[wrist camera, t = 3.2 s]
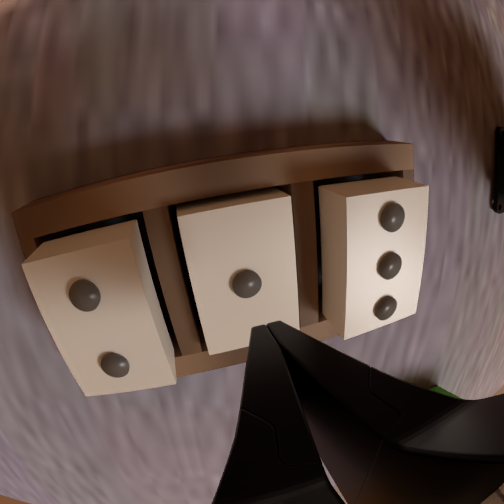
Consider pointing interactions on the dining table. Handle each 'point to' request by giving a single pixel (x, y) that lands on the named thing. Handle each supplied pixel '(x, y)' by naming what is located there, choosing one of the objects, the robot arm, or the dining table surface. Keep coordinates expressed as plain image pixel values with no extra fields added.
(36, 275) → the tile two dots
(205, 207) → the tile one dot
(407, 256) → the tile three dots
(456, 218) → the dining table surface
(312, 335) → the walnut board
